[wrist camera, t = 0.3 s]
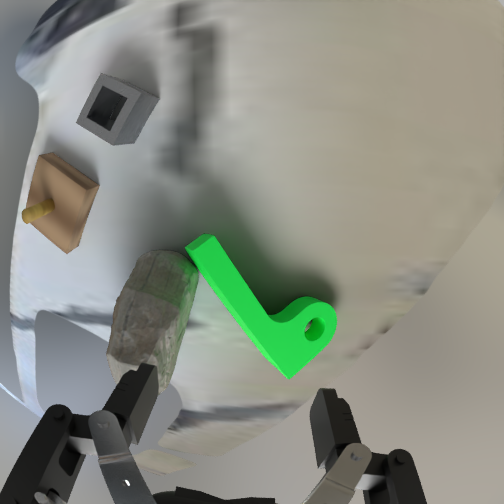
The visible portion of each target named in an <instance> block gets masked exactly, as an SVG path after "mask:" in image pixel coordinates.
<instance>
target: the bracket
mask: <svg viewBox="0 0 504 504" xmlns="http://www.w3.org/2000/svg"><path fill="white" fill-rule="evenodd" d="M185 249H186V251H187V253H188V255H189V256H190V258H191V259H192V261H193V262H194V264H195V265H196V267H197V268H198V270H199V271H200V272H201V274H202V275H203V277H204V278H205V279H206V281H207V282H208V284H209V285H210V286H211V288H212V289H213V290H214V292H215V293H216V294H217V296H218V297H219V299H220V300H221V301H222V303H223V304H224V305H225V307H226V308H227V309H228V311H229V312H230V313H231V315H232V316H233V317H234V319H235V320H236V321H237V322H238V324H239V325H240V326H241V328H242V329H243V330H244V332H245V333H246V334H247V335H248V337H249V338H250V339H251V340H252V342H253V343H254V344H255V346H256V347H257V348H258V349H259V351H260V352H261V353H262V354H263V356H264V357H265V358H266V359H267V360H268V361H269V362H271V363H272V364H273V365H274V366H275V367H276V368H277V369H278V370H279V371H280V372H281V373H282V374H283V375H284V376H285V377H287V378H288V379H290V378H292V377H293V376H294V375H295V374H296V373H297V372H298V371H300V370H301V369H302V368H303V367H304V366H305V365H306V364H307V363H308V362H310V361H311V360H312V359H313V358H314V357H315V356H316V355H317V354H318V353H319V352H320V351H321V350H322V349H323V348H325V347H326V346H327V344H328V343H329V342H330V341H331V339H332V337H333V335H334V333H335V330H336V325H337V317H336V313H335V311H334V309H333V308H332V306H330V305H329V304H327V303H325V302H322V301H320V300H318V299H315V298H313V297H308V296H305V297H301V298H298V299H296V300H294V301H293V302H292V303H290V304H289V305H288V306H287V307H286V308H285V309H284V310H282V311H281V312H279V313H277V314H274V315H267V313H266V312H265V310H264V309H263V308H262V306H261V305H260V303H259V302H258V300H257V299H256V297H255V296H254V294H253V293H252V291H251V290H250V288H249V287H248V285H247V284H246V282H245V281H244V280H243V278H242V277H241V275H240V274H239V272H238V271H237V269H236V268H235V266H234V265H233V263H232V262H231V260H230V259H229V257H228V256H227V254H226V253H225V251H224V250H223V248H222V246H221V245H220V243H219V242H218V240H217V239H216V237H215V236H214V235H210V234H205V233H204V234H202V235H201V236H200V237H198V238H197V239H195V240H194V241H193V242H191V243H190V244H189V245H187V246H186V247H185ZM311 320H312V324H311V326H310V328H309V329H308V330H307V331H306V332H305V328H306V326H307V324H308V323H309V321H311Z"/></svg>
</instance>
